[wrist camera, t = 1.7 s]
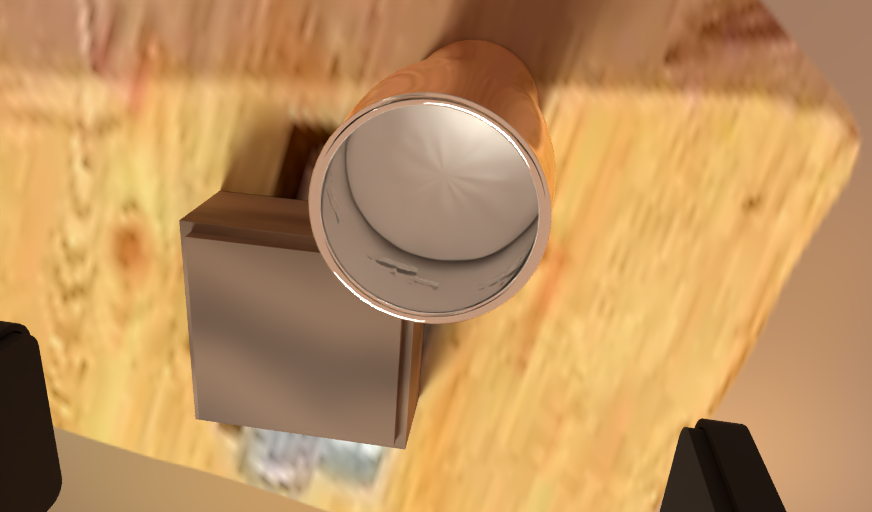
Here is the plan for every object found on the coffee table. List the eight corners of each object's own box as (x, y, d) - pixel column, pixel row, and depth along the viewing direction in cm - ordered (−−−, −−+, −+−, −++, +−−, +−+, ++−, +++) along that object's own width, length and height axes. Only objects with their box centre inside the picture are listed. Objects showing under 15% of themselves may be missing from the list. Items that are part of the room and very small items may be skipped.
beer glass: (539, 186, 33) (543, 345, 19) (396, 172, 34) (302, 317, 20) (557, 34, 30) (577, 95, 17) (401, 23, 31) (296, 73, 17)
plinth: (219, 190, 35) (173, 225, 31) (432, 215, 34) (416, 253, 30) (229, 372, 40) (190, 426, 35) (418, 398, 39) (403, 457, 34)
